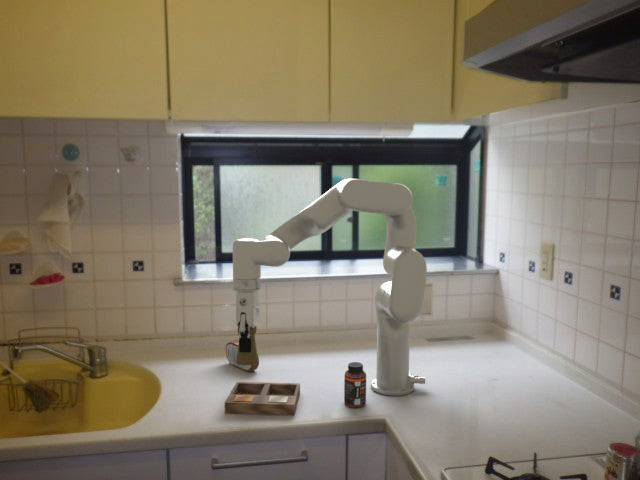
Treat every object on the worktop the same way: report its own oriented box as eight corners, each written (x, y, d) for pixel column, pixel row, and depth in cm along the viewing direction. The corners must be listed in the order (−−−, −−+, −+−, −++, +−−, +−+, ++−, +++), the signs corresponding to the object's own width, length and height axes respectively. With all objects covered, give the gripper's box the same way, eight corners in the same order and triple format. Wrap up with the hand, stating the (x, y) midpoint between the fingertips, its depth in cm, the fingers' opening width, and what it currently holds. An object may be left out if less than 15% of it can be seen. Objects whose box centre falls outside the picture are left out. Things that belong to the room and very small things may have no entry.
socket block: (300, 393, 149) (300, 382, 149) (294, 415, 135) (294, 403, 135) (236, 391, 150) (236, 381, 150) (224, 413, 136) (224, 401, 136)
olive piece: (254, 366, 140) (254, 326, 139) (233, 364, 141) (232, 325, 140) (261, 358, 146) (261, 320, 145) (240, 357, 147) (240, 319, 146)
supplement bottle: (363, 410, 138) (363, 369, 137) (341, 407, 140) (342, 367, 139) (368, 401, 144) (368, 361, 143) (347, 398, 146) (347, 359, 144)
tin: (259, 372, 165) (259, 347, 164) (252, 375, 163) (251, 349, 162) (232, 361, 176) (231, 337, 175) (224, 363, 173) (223, 339, 172)
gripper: (254, 290, 133) (254, 359, 135) (265, 278, 149) (266, 339, 152) (225, 290, 133) (226, 358, 135) (240, 277, 150) (240, 339, 152)
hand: (247, 348), depth 143 cm, fingers closed on olive piece, 4 cm apart
